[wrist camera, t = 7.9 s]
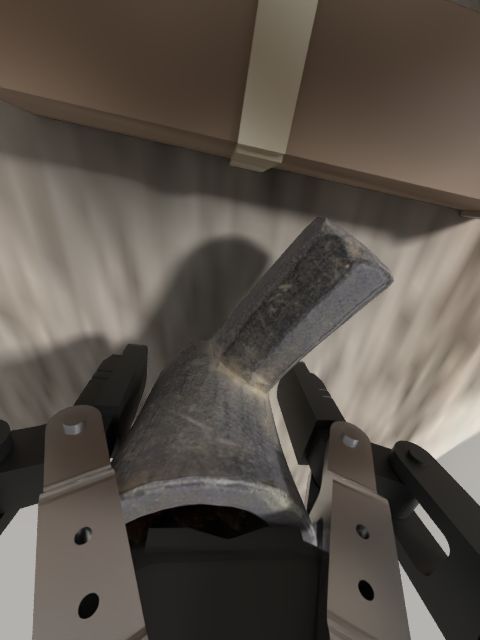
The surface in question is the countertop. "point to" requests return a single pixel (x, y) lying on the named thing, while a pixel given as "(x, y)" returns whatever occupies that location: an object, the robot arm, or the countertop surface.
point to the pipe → (241, 398)
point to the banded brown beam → (266, 83)
